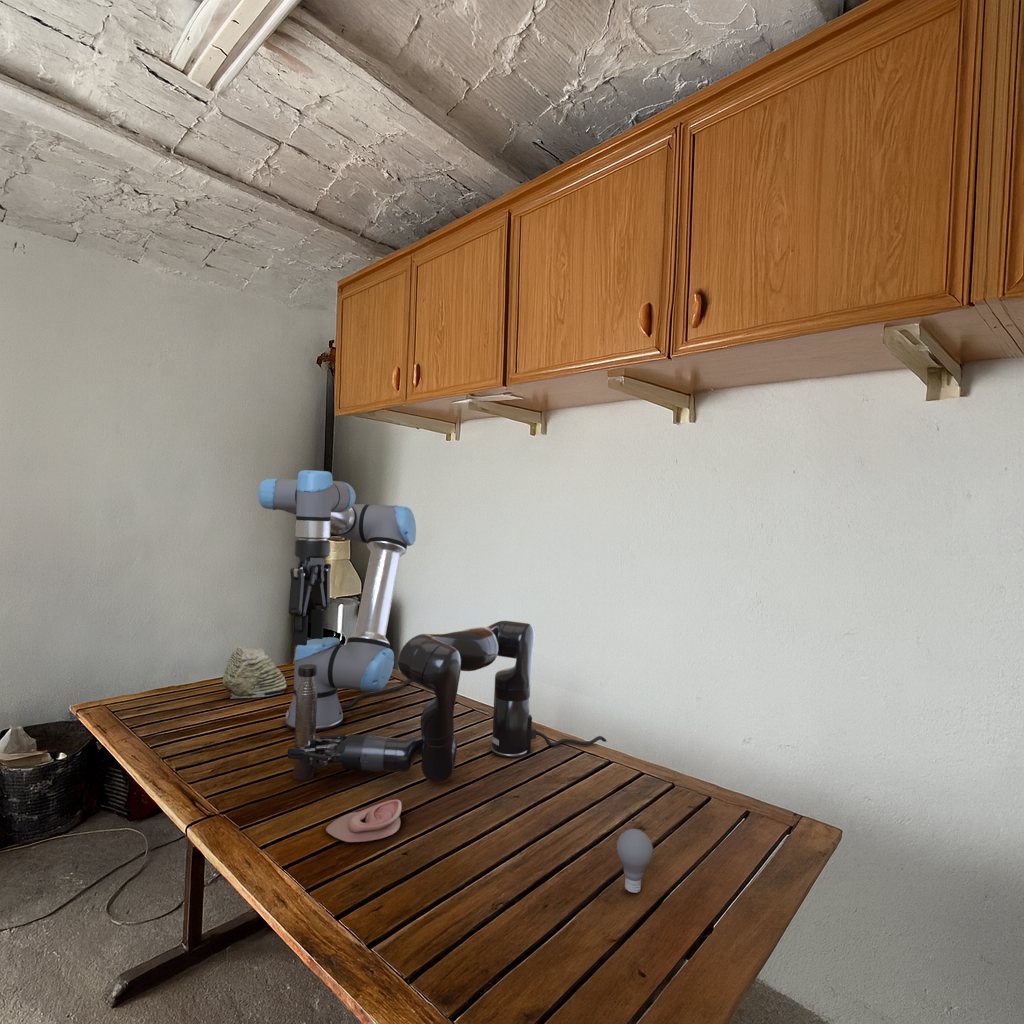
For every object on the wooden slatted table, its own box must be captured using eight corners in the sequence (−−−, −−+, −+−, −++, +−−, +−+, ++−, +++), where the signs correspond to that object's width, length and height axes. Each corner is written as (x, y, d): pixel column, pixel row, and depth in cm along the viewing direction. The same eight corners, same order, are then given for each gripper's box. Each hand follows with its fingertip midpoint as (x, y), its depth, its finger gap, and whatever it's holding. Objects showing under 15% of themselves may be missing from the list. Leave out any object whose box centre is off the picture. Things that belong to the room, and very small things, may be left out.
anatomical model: (318, 816, 117) (346, 789, 129) (317, 837, 118) (346, 808, 129) (385, 827, 115) (408, 798, 126) (384, 848, 115) (407, 818, 126)
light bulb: (610, 879, 108) (613, 822, 108) (644, 879, 109) (647, 822, 109) (619, 902, 102) (622, 840, 102) (655, 901, 103) (658, 840, 103)
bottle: (289, 779, 141) (293, 670, 141) (297, 771, 146) (301, 664, 145) (309, 780, 141) (313, 671, 140) (317, 772, 145) (321, 666, 145)
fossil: (218, 695, 195) (220, 647, 195) (278, 685, 208) (279, 640, 207) (228, 703, 189) (230, 653, 188) (289, 692, 201) (290, 645, 201)
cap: (295, 676, 141) (295, 668, 141) (302, 671, 145) (302, 663, 145) (312, 677, 141) (313, 669, 141) (319, 672, 145) (319, 664, 145)
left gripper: (319, 536, 152) (315, 631, 153) (272, 540, 134) (268, 649, 134) (348, 538, 151) (344, 634, 151) (305, 542, 132) (300, 652, 132)
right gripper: (376, 725, 150) (304, 721, 150) (358, 749, 135) (280, 744, 136) (374, 756, 150) (303, 752, 150) (357, 783, 135) (279, 778, 136)
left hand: (308, 641), depth 143 cm, fingers open, 6 cm apart
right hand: (293, 748), depth 143 cm, fingers closed on bottle, 4 cm apart
